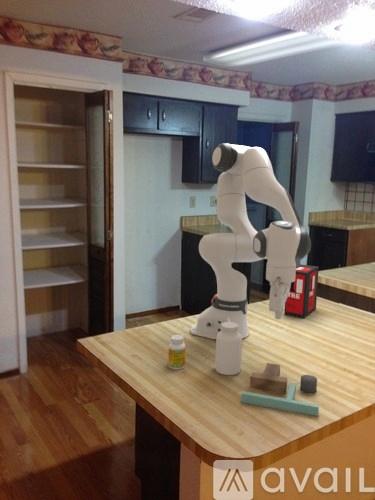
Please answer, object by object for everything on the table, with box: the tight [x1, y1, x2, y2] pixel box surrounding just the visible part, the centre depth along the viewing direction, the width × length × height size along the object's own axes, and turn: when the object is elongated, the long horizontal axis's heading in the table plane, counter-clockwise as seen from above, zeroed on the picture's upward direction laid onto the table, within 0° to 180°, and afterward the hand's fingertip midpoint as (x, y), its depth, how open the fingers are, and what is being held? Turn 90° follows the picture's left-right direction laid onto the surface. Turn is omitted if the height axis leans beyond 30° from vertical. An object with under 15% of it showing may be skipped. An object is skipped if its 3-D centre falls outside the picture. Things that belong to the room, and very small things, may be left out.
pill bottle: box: [214, 322, 243, 376], centre depth 136 cm, size 8×8×15 cm
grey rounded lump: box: [299, 374, 318, 394], centre depth 125 cm, size 4×4×4 cm
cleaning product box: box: [283, 263, 320, 320], centre depth 196 cm, size 16×9×20 cm, turn 147°
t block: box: [249, 362, 288, 395], centre depth 129 cm, size 10×11×4 cm
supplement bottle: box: [167, 334, 187, 370], centre depth 139 cm, size 5×5×10 cm
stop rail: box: [240, 382, 320, 417], centre depth 120 cm, size 20×12×2 cm, turn 71°
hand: (278, 317), depth 137 cm, fingers closed
